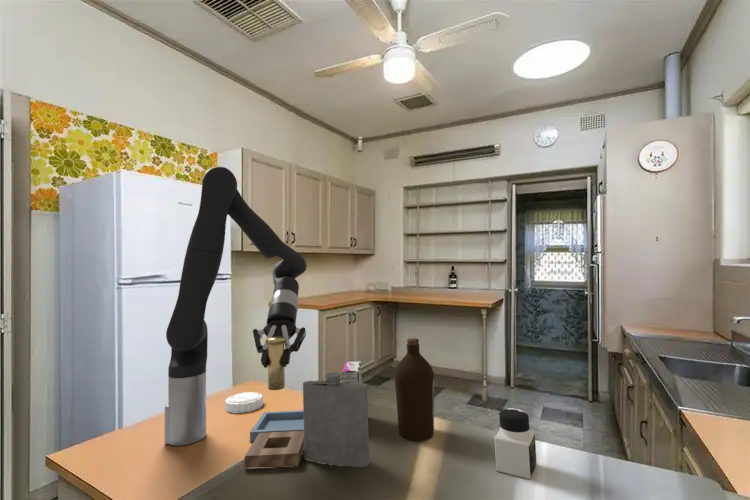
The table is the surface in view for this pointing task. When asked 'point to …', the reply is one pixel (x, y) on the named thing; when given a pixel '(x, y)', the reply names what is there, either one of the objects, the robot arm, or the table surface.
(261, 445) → the walnut pin block
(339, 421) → the hip flask
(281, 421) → the slate tray
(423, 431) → the olive oil
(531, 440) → the medicine bottle
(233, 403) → the mooncake
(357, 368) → the candy bar box
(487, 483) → the table surface
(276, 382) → the brass pin
